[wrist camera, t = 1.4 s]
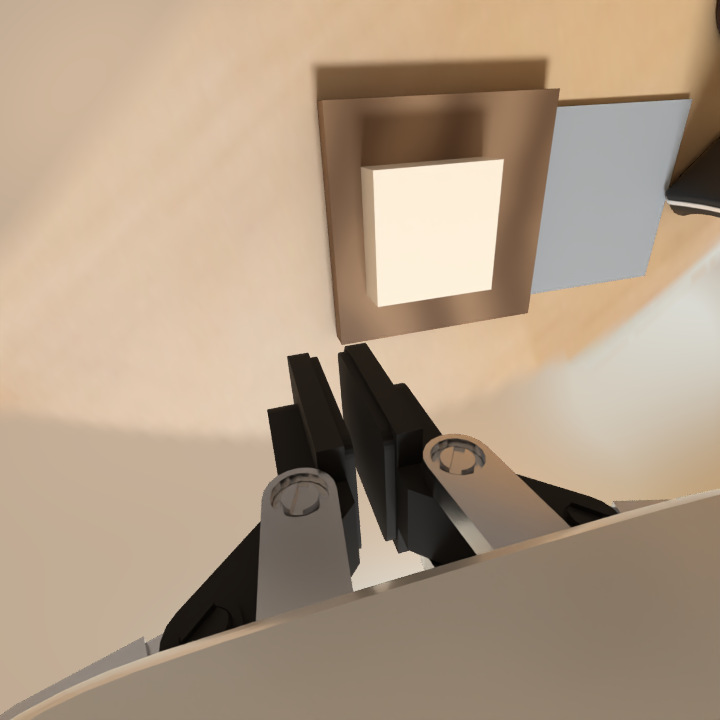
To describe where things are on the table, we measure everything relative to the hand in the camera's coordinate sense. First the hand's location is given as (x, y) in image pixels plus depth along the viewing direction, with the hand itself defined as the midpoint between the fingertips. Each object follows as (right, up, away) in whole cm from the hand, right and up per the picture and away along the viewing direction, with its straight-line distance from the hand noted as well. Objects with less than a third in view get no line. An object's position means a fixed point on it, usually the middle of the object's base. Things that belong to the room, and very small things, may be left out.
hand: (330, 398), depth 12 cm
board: (+6, +11, +19) cm, 22 cm away
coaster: (+5, +10, +17) cm, 20 cm away
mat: (+19, +13, +22) cm, 31 cm away
